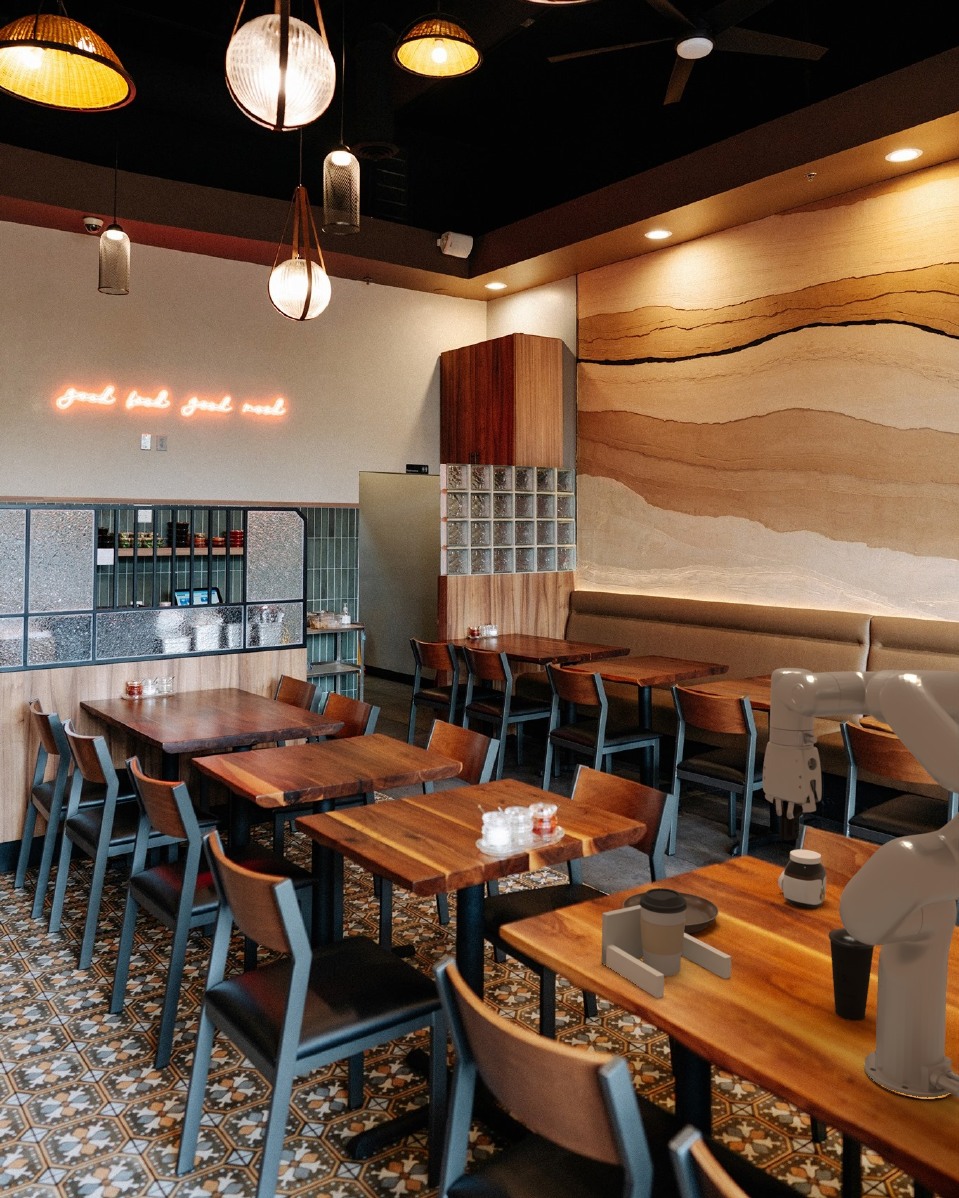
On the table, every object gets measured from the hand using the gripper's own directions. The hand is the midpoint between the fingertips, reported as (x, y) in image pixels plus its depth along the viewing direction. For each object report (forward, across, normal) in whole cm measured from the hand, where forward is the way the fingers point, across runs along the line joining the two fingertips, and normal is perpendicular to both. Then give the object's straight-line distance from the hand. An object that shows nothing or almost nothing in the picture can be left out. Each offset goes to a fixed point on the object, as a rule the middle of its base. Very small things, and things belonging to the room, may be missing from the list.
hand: (788, 838), depth 167 cm
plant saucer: (+30, +38, -6) cm, 49 cm away
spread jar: (+29, +33, -41) cm, 60 cm away
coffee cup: (+29, +20, +12) cm, 37 cm away
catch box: (+29, +18, +12) cm, 36 cm away
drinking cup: (+29, -10, -5) cm, 31 cm away
